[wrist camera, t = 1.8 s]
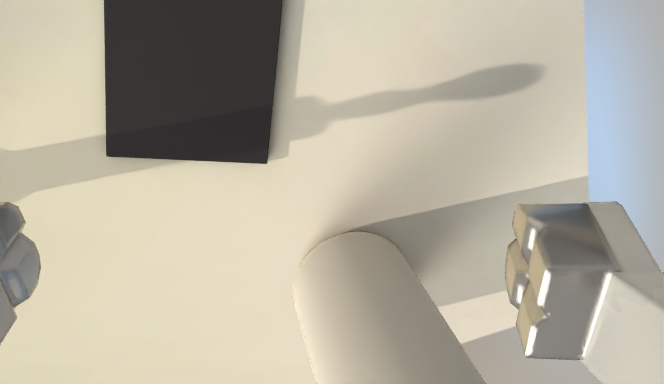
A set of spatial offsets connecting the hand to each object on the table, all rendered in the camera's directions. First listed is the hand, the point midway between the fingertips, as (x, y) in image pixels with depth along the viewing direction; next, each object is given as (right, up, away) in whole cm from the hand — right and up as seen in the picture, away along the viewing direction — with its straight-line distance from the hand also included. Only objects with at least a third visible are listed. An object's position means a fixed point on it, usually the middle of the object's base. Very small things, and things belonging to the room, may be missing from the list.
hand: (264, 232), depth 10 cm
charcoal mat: (-10, +13, +40) cm, 43 cm away
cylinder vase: (+3, -9, +53) cm, 54 cm away
